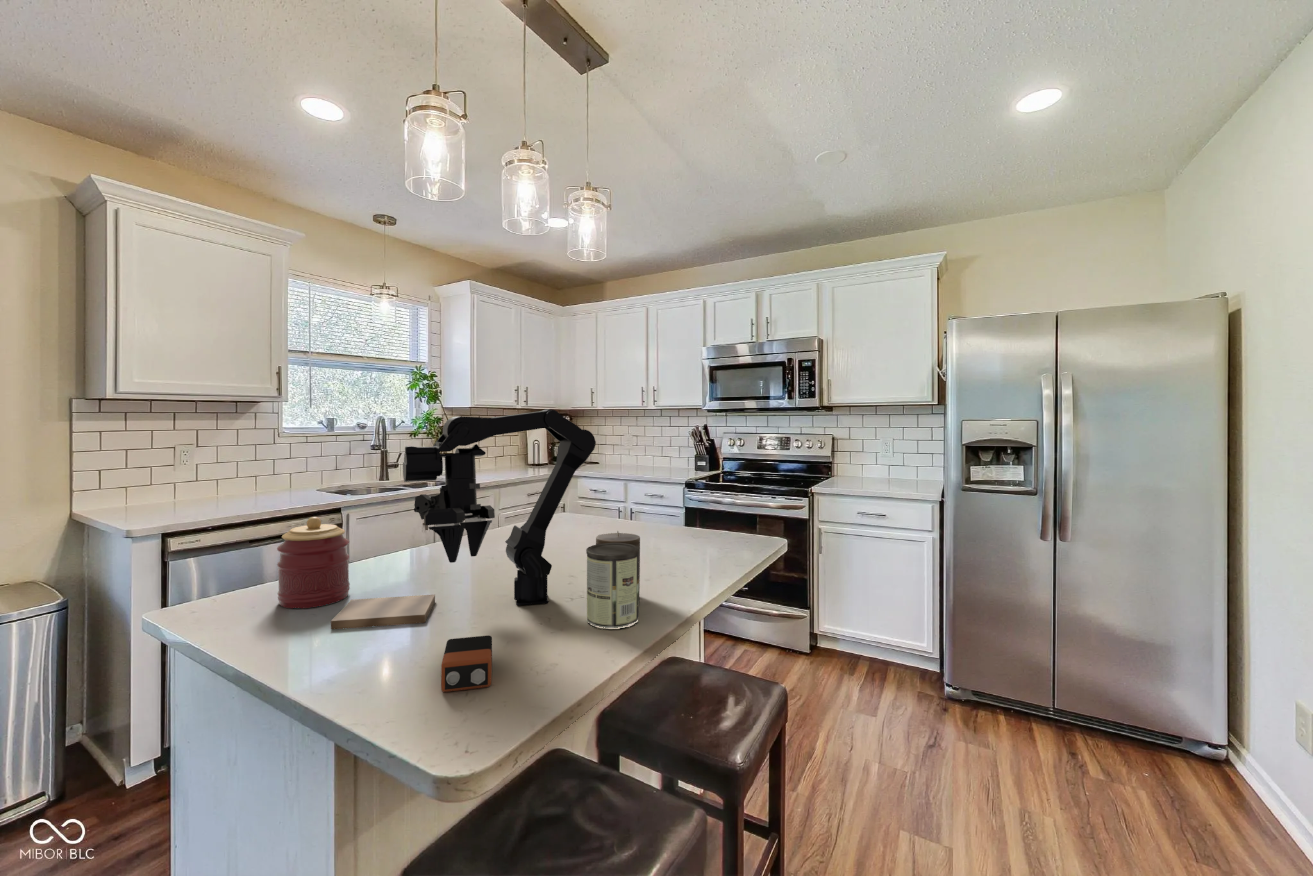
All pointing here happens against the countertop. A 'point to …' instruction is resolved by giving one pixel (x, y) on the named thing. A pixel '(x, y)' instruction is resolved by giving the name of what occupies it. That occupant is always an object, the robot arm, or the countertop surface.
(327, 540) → the canister
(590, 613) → the coffee can
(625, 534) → the pillar candle
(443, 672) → the battery
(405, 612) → the walnut cutting board
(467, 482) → the robot arm
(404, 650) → the countertop surface
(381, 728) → the countertop surface
